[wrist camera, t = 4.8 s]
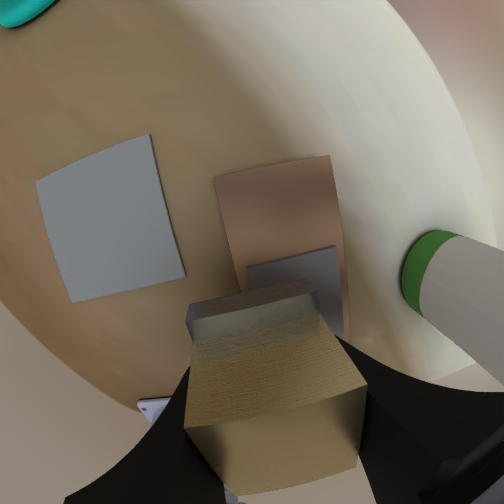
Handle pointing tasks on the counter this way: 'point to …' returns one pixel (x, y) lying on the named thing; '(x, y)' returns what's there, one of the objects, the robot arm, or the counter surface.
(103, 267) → the slate mat
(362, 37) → the counter surface
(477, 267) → the wine bottle
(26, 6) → the turquoise yoyo
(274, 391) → the tan small block
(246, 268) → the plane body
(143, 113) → the counter surface
